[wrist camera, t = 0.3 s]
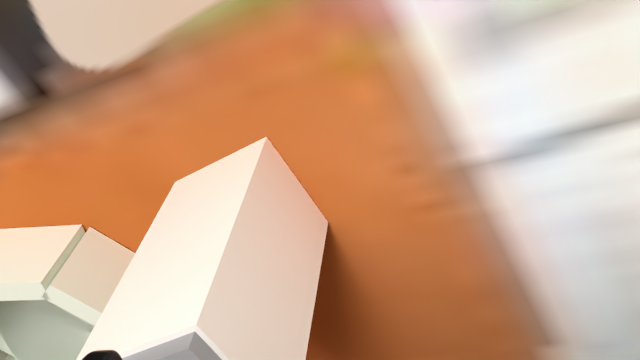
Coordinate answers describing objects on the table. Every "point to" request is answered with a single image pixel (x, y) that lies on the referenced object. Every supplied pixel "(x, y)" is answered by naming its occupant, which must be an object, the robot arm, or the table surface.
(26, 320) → the sage bowl
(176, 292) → the pebble canister
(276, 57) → the table surface
